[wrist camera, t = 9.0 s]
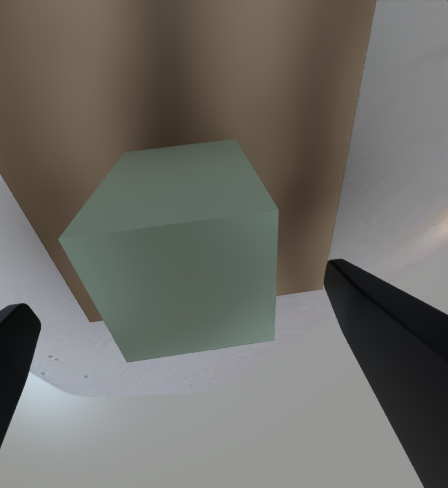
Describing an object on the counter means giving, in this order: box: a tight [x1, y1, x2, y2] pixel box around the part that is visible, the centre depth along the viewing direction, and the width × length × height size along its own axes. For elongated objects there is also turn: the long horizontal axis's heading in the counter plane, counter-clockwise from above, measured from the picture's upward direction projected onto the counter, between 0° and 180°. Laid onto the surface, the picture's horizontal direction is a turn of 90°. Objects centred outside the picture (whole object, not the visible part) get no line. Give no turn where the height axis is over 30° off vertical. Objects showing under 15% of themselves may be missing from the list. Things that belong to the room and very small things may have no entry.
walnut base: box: [0, 0, 376, 322], centre depth 14 cm, size 16×16×2 cm
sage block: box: [58, 139, 279, 362], centre depth 10 cm, size 5×5×7 cm
